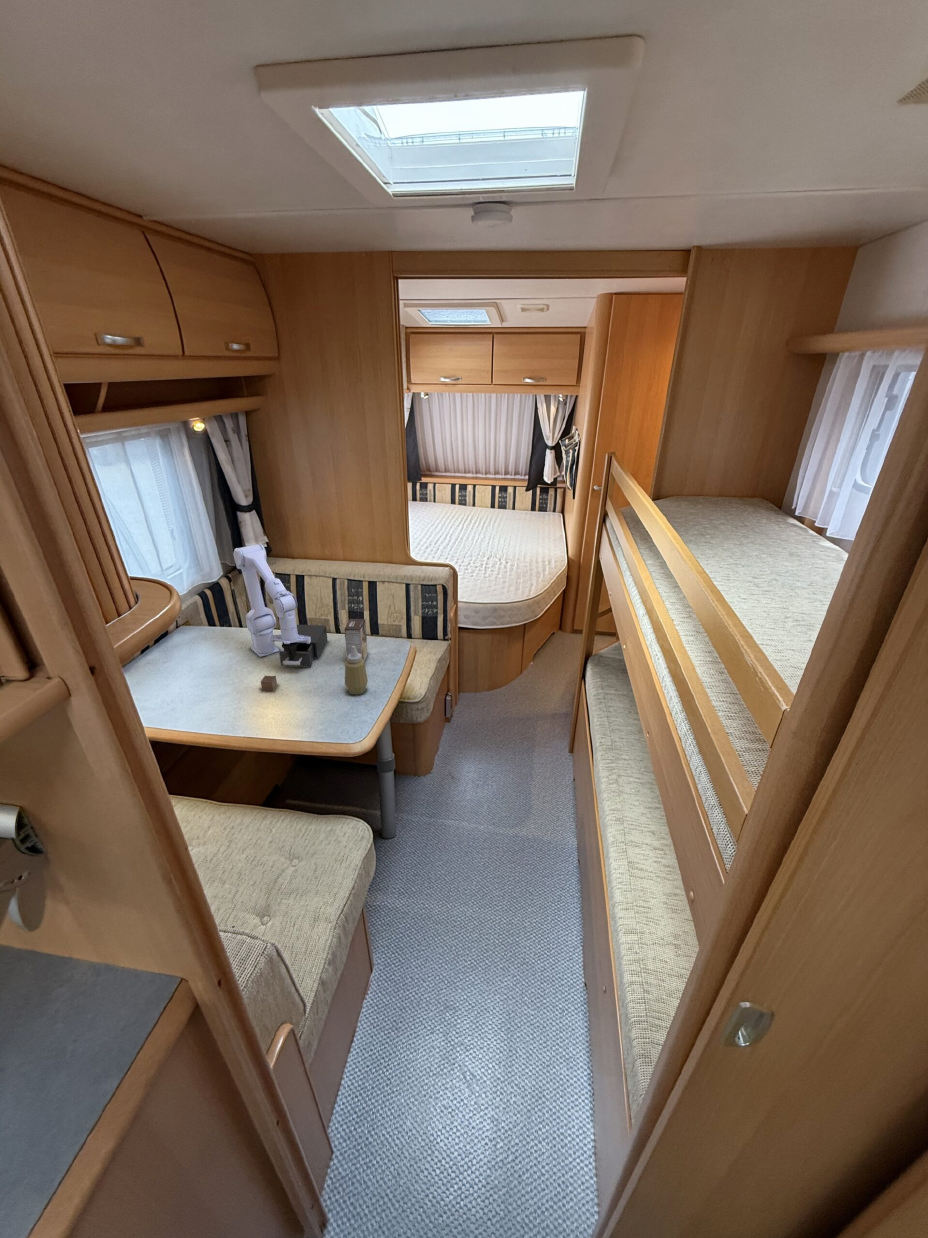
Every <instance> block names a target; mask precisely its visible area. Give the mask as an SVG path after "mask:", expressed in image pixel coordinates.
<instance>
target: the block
mask: <svg viewBox="0 0 928 1238" xmlns="http://www.w3.org/2000/svg"><path fill="white" fill-rule="evenodd" d="M260 686H261V691H262V692H274V691H275V690H276V688H277V687H278V681H277V676H276V675H264V676H263V677H262V679H261V680H260Z"/></svg>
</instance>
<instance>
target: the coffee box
mask: <svg viewBox="0 0 928 1238" xmlns="http://www.w3.org/2000/svg"><path fill="white" fill-rule="evenodd" d="M366 620H367V619H366V618H349V620H348V622H347V623H346V626H345V627H344V639H345V641H344V642H345V653H346V661H347V660H348V655H349V654H351V650H352V646H355V647H356V650H357V653H359V654H361V659H363V660H364V663H366V659H367V657H368V653H369V652H368V638H367V625H366V624H367V623H366V622H367V621H366Z"/></svg>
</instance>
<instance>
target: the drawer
mask: <svg viewBox="0 0 928 1238" xmlns="http://www.w3.org/2000/svg"><path fill="white" fill-rule="evenodd" d="M278 652H279V653H278V654H279V658H280V659H279V660H280V666H282V667H283V666H285V667H308V668H309V667H310V668H311V667H312V665H313V664H312V661H313V660H314V659H313V658H314V656H315V647H314V644H298V646H297V650H296V657H295V659H294V660H290V658H289V656H288V654H287V652H286V651H285V650H284V649H283V650H279V651H278Z"/></svg>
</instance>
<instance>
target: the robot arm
mask: <svg viewBox="0 0 928 1238" xmlns="http://www.w3.org/2000/svg"><path fill="white" fill-rule="evenodd" d="M232 555H233V559H234V563H235V565H236V569H238V570H241V574H242V578H243V581H244V585H245V590H246V593H247V598H248V601H249V605H250V610H249V612H247V614H246V615H245V620H246V628H247V630H248V632H249V633H250V637H251V643H252V646H251V647H250V649H251V651H252V652H254V653H255V654H256V655H257V656H259V658H263V657H265V656H269V655H271V654H275V653H277V652H280V649H279V648H278V647H277V646H276V643H277V642H278V643H282V644H281V648H282V649H283V651H284V650H285V651H286V652H287V654H288V656H289V658H290V660H294V659H295V657H296V650H297V646H298V644H299V642H300V643H307V644H309V643H310V642H311V638H310V637H307V636H303V635H298V632H297V625H298V624H297V617H296V609H298V601H297V598H296V596H295V595H294V594H293V593H291V592H290V591H288V590H287V589H286V587H285V586H284V584H283V583H282V581H281V579H280V578H277V577H276V576H275V575H274V573H273V571H272V569H271V568H270V565H269V564H268V562H267V551H266V548H265V546H264V545H262V543H256V544H252V545H251V544H250V545H247V546H242V547H236V548H234V551H233V553H232ZM258 575H259V576H260V577H261V579H262V580H263V581H264V583H265V584H264V588H265V590H266V591H267V593H268V594H269V596H270V597H271V599H272V601H273V608H274V610H275V612H276V616H277V617H278V621H279V622H278V623H279V630H280V634H274V631H275V628H276V626H277V619H276V617H275V615H274V612H273V610H272V609H271V608H269V607H266V606H265V601H264V597H263V593H262V590H261V589H262V588H261V585H260V582H259V577H258ZM275 642H276V643H275Z"/></svg>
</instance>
